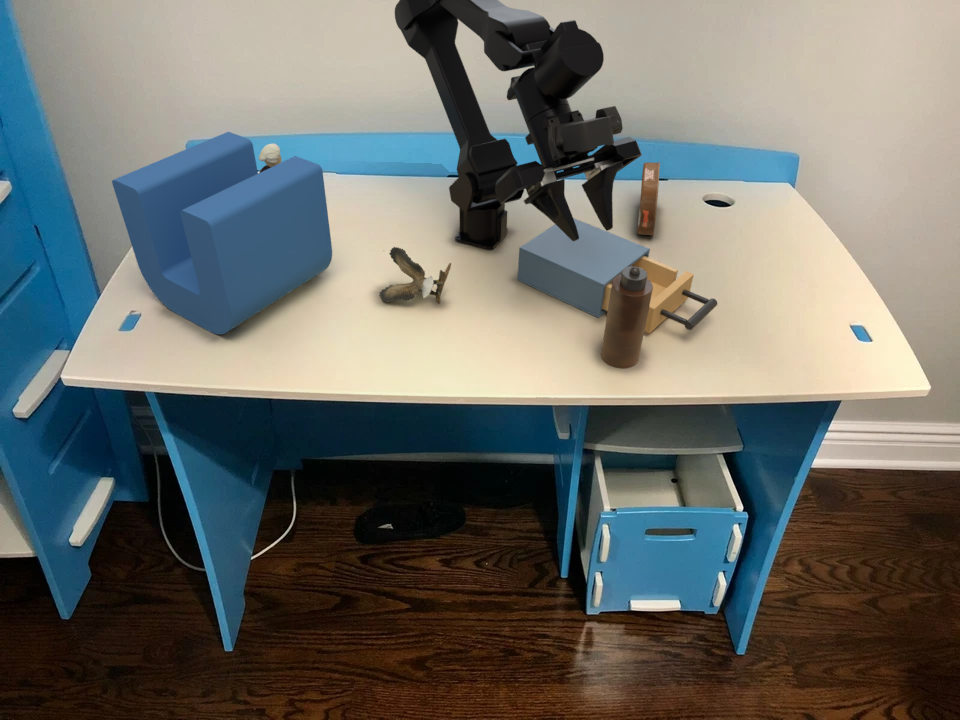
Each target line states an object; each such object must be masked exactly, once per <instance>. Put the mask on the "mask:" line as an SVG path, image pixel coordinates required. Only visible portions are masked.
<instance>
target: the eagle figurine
mask: <svg viewBox="0 0 960 720" xmlns="http://www.w3.org/2000/svg"><path fill="white" fill-rule="evenodd" d="M389 251H390V252H389V253H388V254H389V256H390V258H391V260H392V262H393V263H394V264H396V265H397V266H398V268H399V269H400V271H401V272H402V273H403V274H405V275H406V276H408V277H409V278H411V279H412V281H411V282H407V283H396V284H390V285H388V286H386V287H384V288H383V289H381V291H379V297H380V300H382V301H383V302H386V303H388V302H389V303H390V302H395V301H403V302H408V301H413V300H414V299H415V298H416V296H417V295H418V294H420V293H421V294H422V298H423V299H426V298H428V296H434V298H435V300H436V302H437V303H438V304H441V302H442V301H441V296H442V293H443V290H444V287H445V284H446V281H447V279H448V276H449V273H450V271H451V267H452V262H449V263H448V265H447V266H446V268H445V270H444V271H443V270H442V269H440V270H439V275H438V279H434V278H433V276H432V275H429V276H428V277H425V276H426V271H425V270H424V269H423V267H422V265H420V264H419V263H418V262H415V261H413V260H412V258H411V257H410V256H409V254H408V253H407V252H406V250H405V249H403V248H401V247H397V246H393V247H391V249H390V250H389ZM435 285H436V289H435V291H434V290H433V288H434V286H435Z"/></svg>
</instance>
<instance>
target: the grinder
mask: <svg viewBox="0 0 960 720" xmlns="http://www.w3.org/2000/svg"><path fill="white" fill-rule="evenodd" d="M652 291H653V285H652V283H651V281H650V280H649V279H647V272H646V271H645V270H644V269H642V268H639V267H634V266H630V267H626V268H624V269H623V270H622V273H621V275H618V276H616V277H615V278H614V279H613V281H612V287H611V293H610V299H609V306H608V311H607V312H606V320H605V325H604V332H603V337H602V345H601V352H600V357H601V359H602V361H603V362H604V363H605V364H607V365H609V366H611V367H612V368H617V369H629V368H632V367H634V366H636V365H637V364H638V362H639V361H640V354H641V351H642V346H643V340H644V336H645V326H646V321H647V316H648V311H649V306H650V301H651V296H652Z"/></svg>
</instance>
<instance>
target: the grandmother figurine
mask: <svg viewBox="0 0 960 720" xmlns="http://www.w3.org/2000/svg"><path fill="white" fill-rule="evenodd" d="M258 160H259V161H260V162H264V163H265V165H264V166H262V168H261V169H260V170H259V172H258V173H261V172H263V171H265V170H267V169H269V168H271V167H273V166H275V165H277V164H279V163H281V162H282V156H281V148H280V146H279V145H277V144H276V143H268V144H266V145H265V146H264V147H262V149H261V151H260V153H259V155H258Z"/></svg>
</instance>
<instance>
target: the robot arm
mask: <svg viewBox="0 0 960 720" xmlns="http://www.w3.org/2000/svg"><path fill="white" fill-rule="evenodd" d="M394 20H395V24H396V26H397V28H398V29H399V30H400V31H401V34H402V36H403V38H404V41H405V42H406V44H407V46H408V47H409V48H410V49H412V50H413V51H414V52H415V53H417V54H418V55H419V56H421V57H422V58H423V59H424V60H425V63H426V66H427V67H428V70H429V73H430V75H431V78H432V80H433V83H434V86H435V88H436V91H437V93H438V96H439V98H440V102H441V103H442V107H443V109H444V111H445V114H446V116H447V119H448V122H449V124H450V126H451V129H452V132H453V134H454V137H455V140H456V143H457V145H458V148H459V155H458V159H457V164H456V172H457V176H458V178H456V179H455V180H454V181H453V182H452V183H451V184H450V185H449V187H448V190H449V197H450V201H451V202H452V203H453V204H454V205H456V206H457V207H458V208H459V218H458V219H459V221H458V222H459V225H458V226H459V231H458V233H457V234H456V235H454V241H456V242H458V243H462V244H467V245H471V246H474V247H478V248H482V249H487V250H494V249H495V248H496V247H497V245H498V244H499V243H500V242H501V241H502V240H503V239H504V238H505V236H506V235H507V233H508V230H509V229H508V213H509V212H508V210H505V209H506V204H508V203H512V202H515V201H518V200H521V199H522V197H523V194H524V192H525V191H526V194H527V196H528V197H526V198H525V199H523V202H524V204H525V205H531V206H533V207H534V208H536V209H537V210H538V211H540V212H541V213H542V214H543V215H544V216H545V217H546V218H548V219H549V220H550V221H551V222H552V223H553V224H554V225H555V224H556V225H557V226H558V227H559V228H560V229H561V230H562V231H563V232H564V233H565V234H566V235H567V236H568V237H569V238H570V239H571V240H572V241H576V240H578V239H579V235H578V231H577V227H576V224H575V222H574V219H575V218H574V217H573V215H572V211H571V209H570V206H569V204H568V201H567V199H566V195H565V183H566V182H565V181H566V180H565V179H567V178H570V177H575V176H578V175H582V174H584V176H585V179H586V181H585V182H584V183H582V184H581V188H582V189H583V191H584V193H585V195H586V197H587V199H588V201H589V203H590V205H591V207H592V209H593V211H594V212H595V215H596V216H597V219H598V221H599V222H600V224H601V225H602V227H603V228H604V231H607V232H609V231H610V230H612V229H613V228H614V218H613V214H614V213H613V211H614V209H613V189H614V182H615V179H616V176H617V174H618V172H620V171H621V170H623V169H624V168H626V167H627V166H629V165H630V164H631V163H633V162H634V161H636V160H637V159H639V158H640V157H642V155H643V154H642V152H641V149H640V145H639V144H638V141H637V139H634V138H633V137H631V136H627V137H623V138H619V139H615V138H614V136H615V135H618V134H621V133H622V132H623V130H624V129H623V127H624V126H623V119H622V117H621V115H620V113H619V110H618V109H617V107H616V105H612V106H608V107H603V108H599V109H596V112H595V117H594V118H590V119H584V116H583V113H581V112H580V111H579V109H577V110H572V109H571V106H570V103H569V100H568V99H571V98H572V97H573V96H574V95H575V94H576V93H578V91H579V90H581V88H583V87H584V86H585V85H586V84H587V83H589V81H590V80H591V79H592V78H594V76H595V75H596V74H598V72H600V70H601V69H602V67H603V65H604V62H605V61H604V59H605V58H604V57H605V56H604V55H605V54H604V51H603V48H602V45H601V43H600V42H598V41H597V39H596V38H595V37H594V36H593V35H592V34H591V33H589V32H588V31H586V30H584V29H581V28H579V25H578V23H577V21H576V20H575V19H571V20H566V21H565V20H564V21H561V22H560V23H559V24H558V25H557V26H556V27H555V28H553V27H551V25H550V23H549V22H548V20H547V19H546V18H545V17H544V16H542V15H541V14H538V13H536V12H533V11H531V10H528V9H527V10H526V9H520V8H512V7H509V6H507V5H506V4H504V3H502V2H501V1H500V0H398V2H397V3H396V5H395V7H394ZM459 22H461V23H462V24H463V25H465V26H466V27H467V28H468V29H469V30H470V31H472V32H473V33H474V34H476V35H477V36H478V37H479V38H480V39H481V40H482V41H483V53H484V54H485V56H486V57H487V58H488V59H489V60H490V61H491V63H492V64H493V65H494V67H495V68H497V70H499V71H501V72H509V71H515V70H519V69H524V68H527V69H526V70H524V71H523V72H522V73H521V74H520V75H517V76H512V77H511V78H510V84H509V86H508V88H507V91H506V99H507V101H512V100H516V102H517V104H518V107H519V109H520V112H521V114H522V117H523V119H524V122H525V125H526V128H527V130H528V134H527V135H526V136H525V137H524V138H525V141H526V144H527V146H529V145H533V146H534V149H535V152H536V154H537V157H538V158H539V162H538V161H537V160H533V161H529V162H525V163H522V164H518V161H517V160H516V158H515V157H514V154H513V151H512V148H511V144H510V142H509V141H508V140H507V139H506V138H500V139H497V138H496V137H494V136H493V135H492V134H491V132H490V129H489V127H488V124H487V122H486V119H485V117H484V114H483V111H482V108H481V106H480V103H479V102H478V101H479V100H478V98H477V96H476V93H475V91H474V88H473V86H472V83H471V81H470V78H469V76H468V73H467V70H466V68H465V65H464V63H463V60H462V58H461V55H460V52H459V49H458V47H457V45H456V38H457V33H458V29H459ZM614 139H615V140H614ZM598 147H600V148H599V149H598ZM595 150H596V151H595ZM591 152H593V153H592V154H590V153H591ZM589 154H590V155H589ZM573 218H574V219H573Z"/></svg>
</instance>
